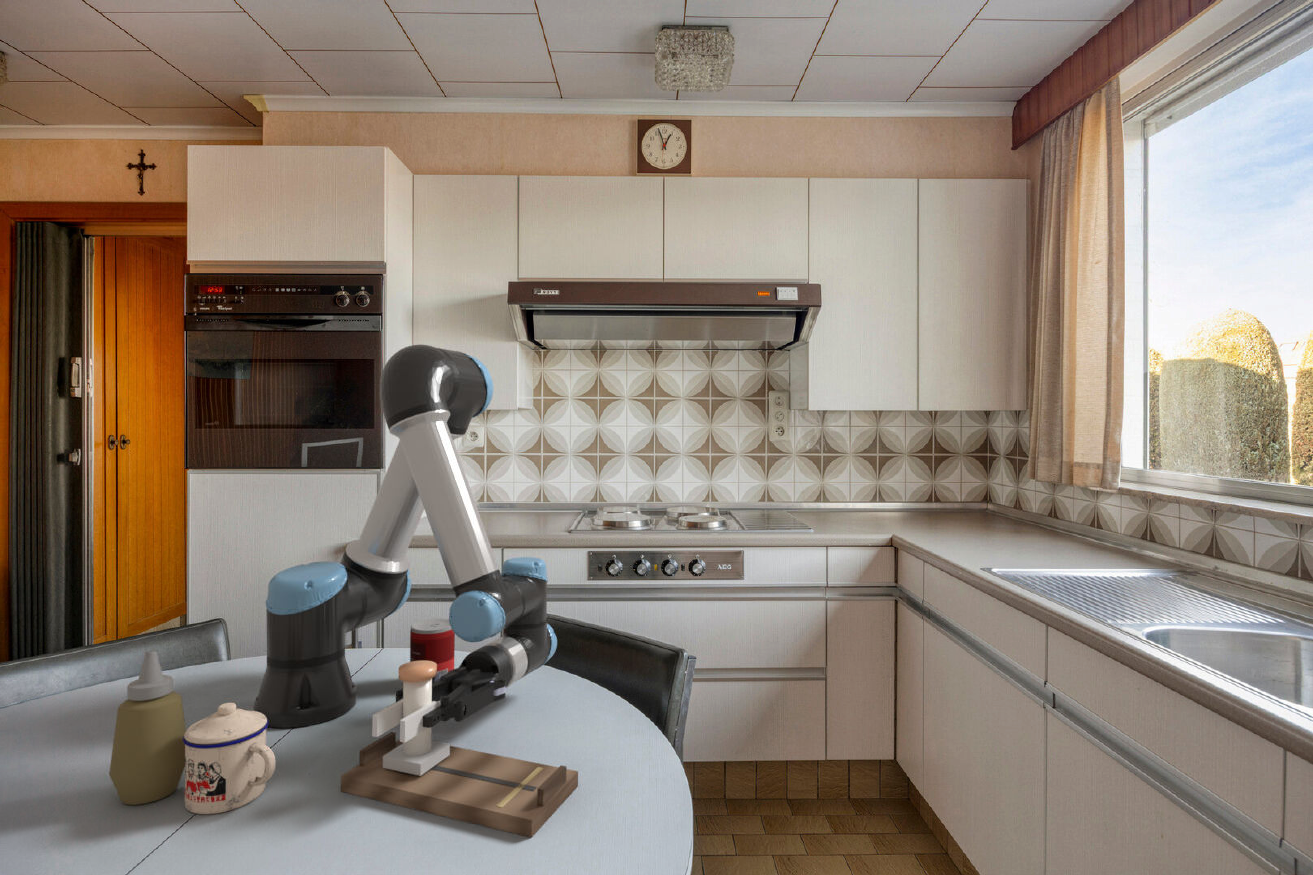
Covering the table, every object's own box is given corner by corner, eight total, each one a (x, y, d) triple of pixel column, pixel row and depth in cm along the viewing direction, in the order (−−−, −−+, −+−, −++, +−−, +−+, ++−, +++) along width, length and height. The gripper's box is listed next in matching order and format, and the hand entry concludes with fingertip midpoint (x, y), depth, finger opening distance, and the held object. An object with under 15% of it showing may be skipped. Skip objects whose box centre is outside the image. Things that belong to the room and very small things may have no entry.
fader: (382, 767, 88) (383, 670, 88) (413, 747, 94) (414, 656, 94) (420, 775, 86) (421, 677, 86) (449, 754, 92) (450, 662, 92)
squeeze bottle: (125, 818, 80) (126, 668, 80) (97, 798, 84) (98, 655, 84) (200, 788, 87) (201, 649, 87) (171, 771, 91) (172, 639, 91)
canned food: (460, 676, 128) (461, 618, 128) (443, 692, 120) (444, 631, 120) (421, 674, 129) (422, 617, 128) (402, 690, 121) (402, 629, 120)
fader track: (340, 791, 87) (340, 760, 87) (404, 750, 98) (404, 722, 98) (531, 837, 78) (532, 802, 78) (577, 786, 89) (578, 756, 89)
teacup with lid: (163, 809, 82) (164, 714, 82) (230, 773, 91) (231, 687, 91) (240, 827, 79) (240, 728, 79) (301, 788, 87) (302, 698, 87)
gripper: (539, 699, 104) (443, 770, 82) (448, 684, 110) (336, 747, 88) (539, 650, 104) (444, 708, 82) (449, 638, 110) (337, 689, 88)
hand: (388, 728), depth 85 cm, fingers closed on fader, 4 cm apart
